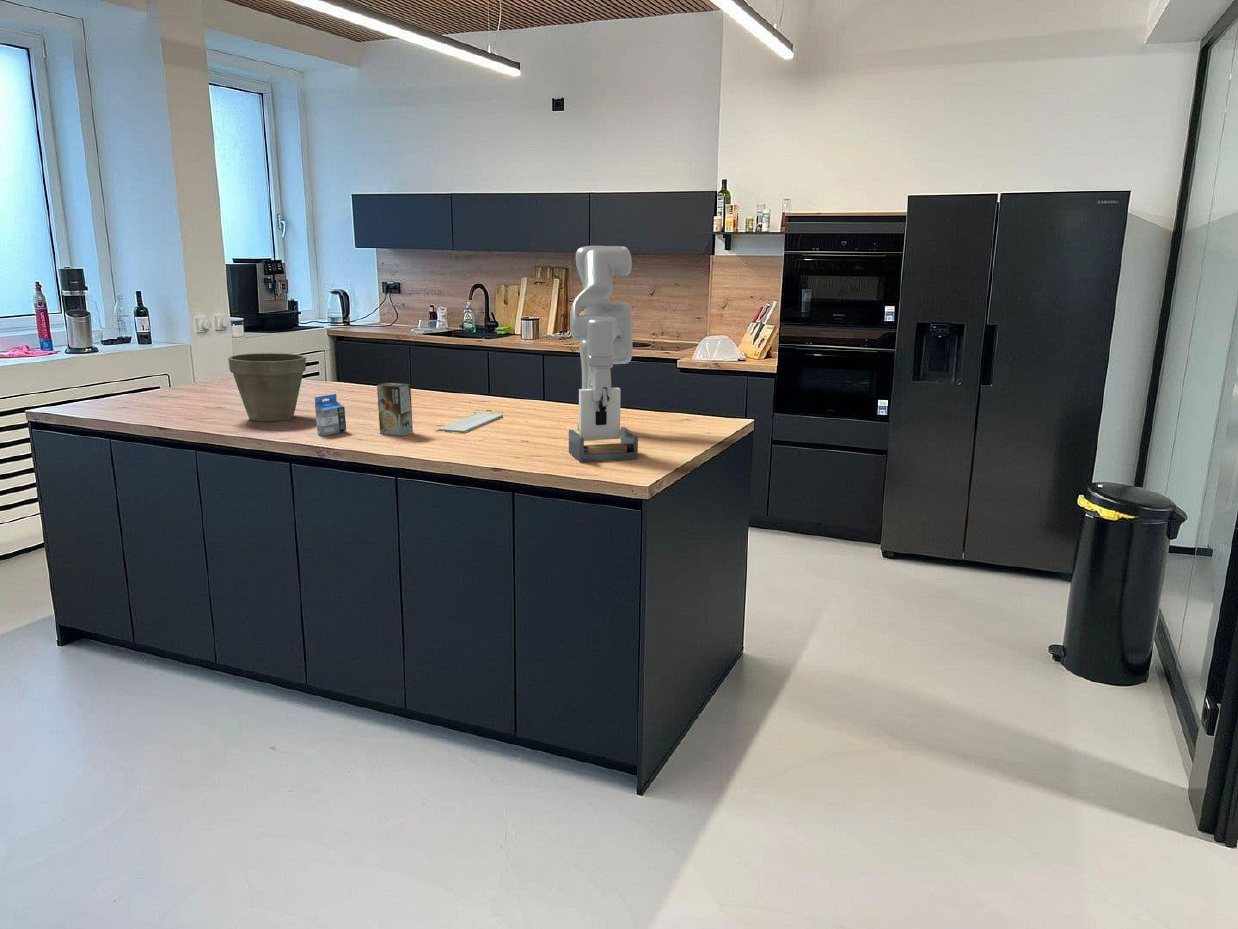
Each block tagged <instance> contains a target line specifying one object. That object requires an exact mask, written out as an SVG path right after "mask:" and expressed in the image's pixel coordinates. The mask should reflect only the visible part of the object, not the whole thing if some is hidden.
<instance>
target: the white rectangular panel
mask: <svg viewBox="0 0 1238 929" xmlns="http://www.w3.org/2000/svg"><path fill="white" fill-rule="evenodd" d="M621 391H622V390H621V388H620V387H611V400H610V401H609V402H608V406H607V424H606V425H596V412H597V402H594V401H592V390H591V389H582V388H579V389H578V424H579V430H578V434H579V435H580V436H581V437H583V438H584V442H586V441H589V442H590V441H604V440H605V441H607V440H621ZM607 395H608V394H607ZM607 398H608V397H607ZM599 401H602V399H600V400H599ZM601 404H602V403H601Z"/></svg>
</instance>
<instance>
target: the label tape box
mask: <svg viewBox="0 0 1238 929" xmlns="http://www.w3.org/2000/svg"><path fill="white" fill-rule="evenodd" d="M337 395H338V394H337V393H332V394H325V395H319V396H315V397H314V408H315V410H314V411H315V420H316V430H317V435H318V436H322V437H323V436H324V437H326V436H331V435H334V434H339V433H344V432H347V421H346V410H345V406H344V405H343V404H341V403H340V402H338V401H337ZM325 399H326V400H325ZM323 400H324V401H323Z"/></svg>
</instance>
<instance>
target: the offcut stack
mask: <svg viewBox="0 0 1238 929" xmlns="http://www.w3.org/2000/svg"><path fill="white" fill-rule="evenodd" d="M586 445H587V452H584V455H591V454H608V453H625V452H627V446H626V445H625V444H623V443H621V442H618V443H616V442H615V443H602V444H601V443H600V444H586Z"/></svg>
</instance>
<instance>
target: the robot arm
mask: <svg viewBox="0 0 1238 929" xmlns="http://www.w3.org/2000/svg"><path fill="white" fill-rule="evenodd" d="M632 260H633V259H632V254H631V252H630V250H629V248H628V247H626V246H622V245H586V246H581V247H579V248H578V249H577V250H576V251H575V264H576V265H575V266H576V269H577V272H578V275H579V278H580V280H581V283H582V287H583V288H582V291H581V292H580V293H578V295H577V296H576V297H575V298H574V301H573V302H572V304H571V306H570V307H571V308H570V318H569V319H570V321H569V322H570V327H569V328H570V335H571V336H572V338H573V339H574V340H576V341H579V345H578V346H579V355H580V364H581V365H580V366H581V389H591V390H592V401H594V402H597V412H596V425H606V424H607V406H608V402H609V401H610V400H611V388H612V375H611V369H612V368H614V365H620V364H621V365H625V364H628V363H630V362H631V360H632V358H633V311H632V308H631V306H630V304H629V303H627V302H625V301H611V300H610V297H612V294H613V291H614V289H613V288H614V287H613V285H614V284H613V277H626V276H629V275H630V274H631V271H632V266H633V264H632V263H633V262H632ZM582 312H583V314H581V313H582ZM607 394H608V395H607ZM607 397H608V398H607ZM600 399H602V401H599V400H600ZM601 403H602V404H601ZM576 428H577V430H578V431H579V423H578V424H577V427H576Z"/></svg>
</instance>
